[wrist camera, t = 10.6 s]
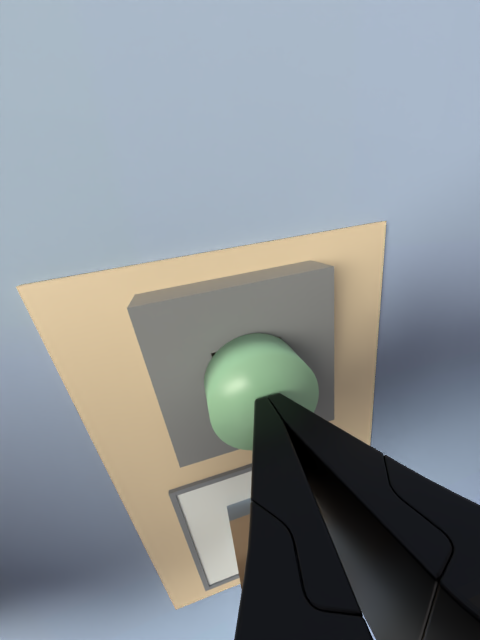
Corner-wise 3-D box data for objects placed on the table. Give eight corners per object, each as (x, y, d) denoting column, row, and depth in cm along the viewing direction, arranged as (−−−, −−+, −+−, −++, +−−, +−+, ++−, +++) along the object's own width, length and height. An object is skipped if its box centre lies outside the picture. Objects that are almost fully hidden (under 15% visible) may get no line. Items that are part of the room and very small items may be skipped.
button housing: (312, 393, 13) (334, 419, 11) (179, 431, 12) (180, 468, 10) (306, 259, 11) (334, 266, 9) (136, 292, 10) (126, 308, 8)
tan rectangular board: (361, 529, 19) (365, 536, 19) (175, 603, 17) (175, 614, 16) (380, 221, 11) (389, 221, 10) (20, 284, 9) (12, 287, 8)
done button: (282, 377, 12) (320, 432, 9) (208, 397, 12) (220, 463, 8) (275, 307, 11) (317, 342, 8) (191, 326, 10) (198, 372, 7)
